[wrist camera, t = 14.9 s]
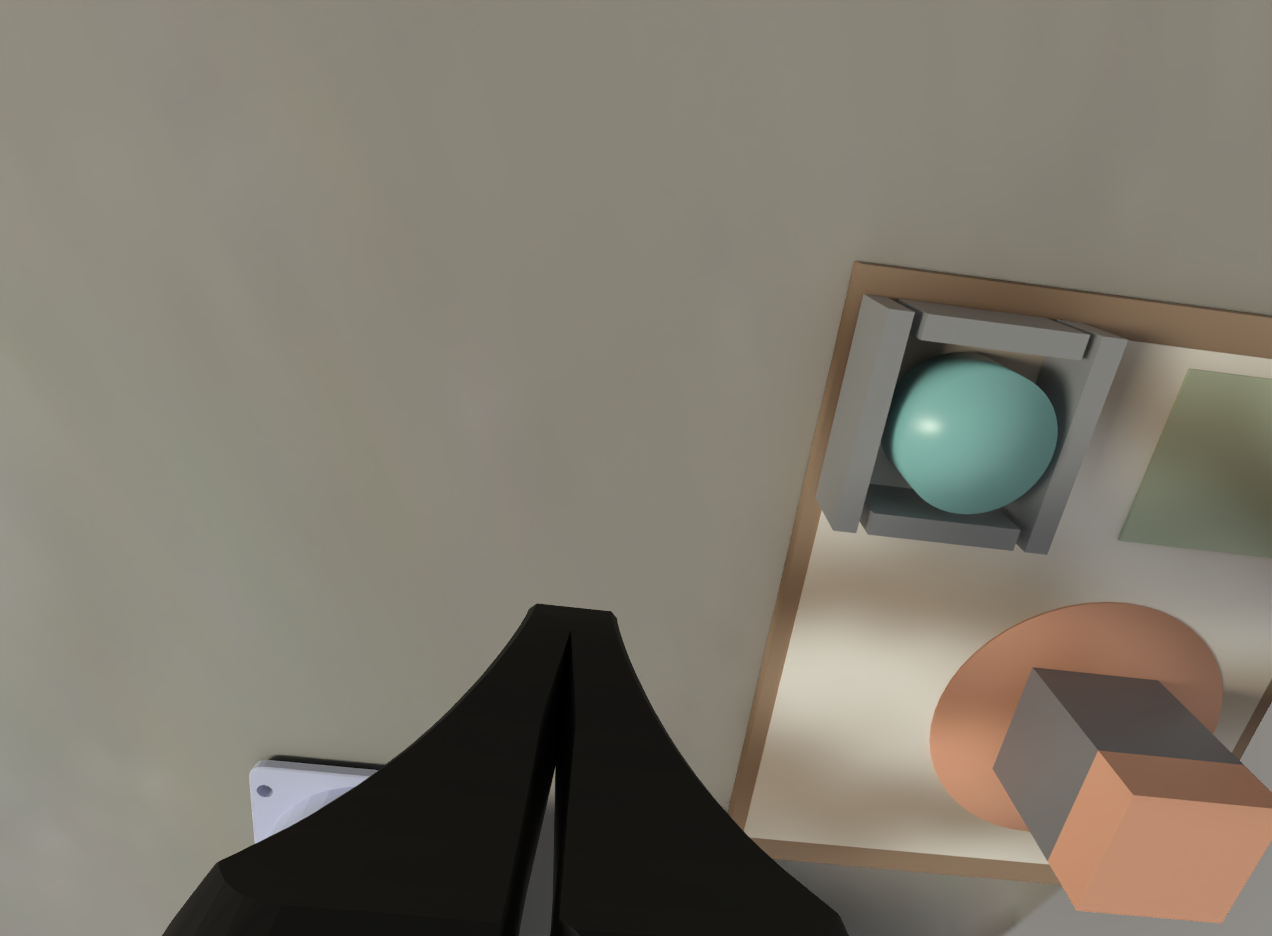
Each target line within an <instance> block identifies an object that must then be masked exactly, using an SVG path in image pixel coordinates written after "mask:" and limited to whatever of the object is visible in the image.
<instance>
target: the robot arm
mask: <svg viewBox="0 0 1272 936" xmlns="http://www.w3.org/2000/svg"><path fill="white" fill-rule="evenodd" d="M555 766H556V772H555V820H554V872H553V905H552V922H551V933H550V936H849V935H848V933H847V931H846V929H845V926H844V924H843V922H842V920H841V918H840V916H839V915H838V913H836V912H835V911H834V910H833V909H831V908H830V907H829V906H828V905H827V904H825V903H824V902H823V901H822V900H820V899H819V898H818V897H817V896H816V895H814V894H813V893H812V892H811V891H809V890H808V889H807V888H806V887H804V886H803V885H802V884H801V883H800V882H798V881H797V880H796V879H795V878H793V877H792V876H791V875H790V874H789V873H787V872H786V871H785V870H784V869H783V868H781V867H780V866H779V865H778V864H777V863H776V862H775V861H774V860H773V859H772V858H771V857H770V856H769V855H767V854H766V853H765V852H764V851H763V850H762V849H761V848H760V847H759V846H758V845H757V844H756V843H755V842H754V841H753V840H752V839H751V838H750V837H749V836H748V835H747V834H746V833H745V832H744V831H743V830H742V829H741V828H740V827H739V825H738V824H737V823H736V822H735V821H734V820H733V819H732V818H731V817H730V816H729V814H728V813H727V812H726V811H725V810H724V809H723V808H722V807H721V806H720V805H719V803H718V802H717V801H716V800H715V799H714V798H713V796H712V795H711V794H710V793H709V791H708V790H707V789H706V787H705V786H704V785H703V784H702V782H701V781H700V780H699V779H698V777H697V776H696V775H695V773H694V772H693V770H692V769H691V768H690V766H689V765H688V763H687V762H686V761H685V759H684V758H683V756H682V755H681V754H680V752H679V751H678V749H677V748H676V746H675V744H674V743H673V741H672V740H671V738H670V737H669V735H668V733H667V732H666V730H665V728H664V727H663V725H662V723H661V721H660V720H659V718H658V716H657V715H656V713H655V711H654V709H653V707H652V705H651V704H650V702H649V700H648V698H647V696H646V694H645V692H644V690H643V688H642V685H641V683H640V681H639V679H638V677H637V675H636V673H635V671H634V668H633V666H632V664H631V662H630V659H629V656H628V654H627V651H626V649H625V646H624V643H623V640H622V637H621V634H620V631H619V627H618V623H617V618H616V617H615V616H614V614H613V613H612V612H611V611H602V610H592V609H583V608H573V607H564V606H554V605H545V604H536V605H534V606H533V607H531V608H530V609H529V611H528V613H527V615H526V616H525V618H524V620H523V621H522V623H521V625H520V626H519V628H518V629H517V631H516V632H515V634H514V635H513V637H512V638H511V639H510V641H509V642H508V643H507V645H506V646H505V648H504V649H503V650H502V651H501V653H500V654H499V655H498V656H497V658H496V659H495V660H494V661H493V663H492V664H491V665H490V666H489V667H488V669H487V670H486V671H485V672H484V674H483V675H482V676H481V677H480V678H479V679H478V680H477V682H476V683H475V684H474V685H473V686H472V687H471V688H470V689H469V690H468V691H467V692H466V693H465V694H464V695H463V696H462V697H461V699H460V700H459V701H458V702H457V703H456V704H455V705H454V706H453V707H452V708H451V709H450V710H449V711H448V712H447V713H446V714H445V715H444V716H443V717H442V718H441V719H440V720H439V721H437V722H436V723H435V724H434V725H433V726H432V727H431V728H430V729H429V730H428V731H426V732H425V733H424V734H423V735H422V736H421V737H419V738H418V739H417V740H416V741H415V742H414V743H413V744H411V745H410V746H409V747H408V748H406V749H405V750H404V751H403V752H401V753H400V754H399V755H397V756H396V757H395V758H394V759H392V760H391V761H390V762H388V763H387V764H386V765H385V766H383V767H382V768H381V769H379V770H371V769H360V768H350V767H339V766H328V765H317V764H306V763H296V762H285V761H274V760H261V761H259V762H257V763H256V764H255V765H254V767H253V768H252V770H251V772H250V775H249V782H250V794H251V805H252V817H253V829H254V840H255V844H254V845H252V846H250V847H248V848H246V849H244V850H242V851H240V852H238V853H236V854H234V855H232V856H230V857H227V858H225V859H223V860H221V861H219V862H217V863H216V864H215V865H214V867H213V868H212V869H211V870H210V872H209V873H208V874H207V876H206V877H205V878H204V879H203V881H202V882H201V883H200V885H199V886H198V887H197V889H196V890H195V891H194V892H193V894H192V895H191V896H190V898H189V899H188V900H187V902H186V903H185V904H184V905H183V907H182V908H181V909H180V911H179V912H178V913H177V915H176V916H175V917H174V919H173V920H172V921H171V923H170V924H169V926H168V927H167V929H166V930H165V932H164V934H163V935H162V936H519V931H520V924H521V919H522V913H523V908H524V903H525V897H526V892H527V888H528V884H529V879H530V875H531V871H532V866H533V862H534V857H535V853H536V849H537V844H538V840H539V836H540V831H541V827H542V823H543V818H544V814H545V810H546V805H547V801H548V796H549V792H550V788H551V783H552V779H553V774H554V770H555ZM265 785H266V786H269V787H270V788H268V787H266V786H265Z"/></svg>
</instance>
